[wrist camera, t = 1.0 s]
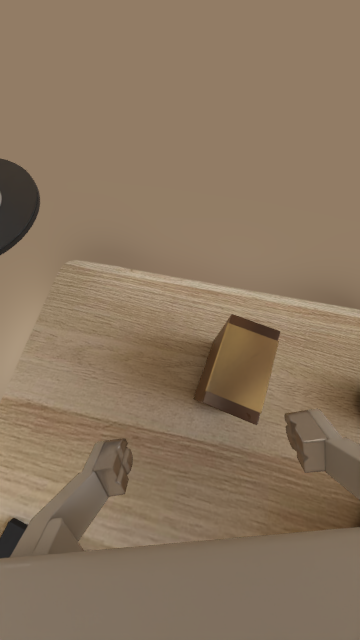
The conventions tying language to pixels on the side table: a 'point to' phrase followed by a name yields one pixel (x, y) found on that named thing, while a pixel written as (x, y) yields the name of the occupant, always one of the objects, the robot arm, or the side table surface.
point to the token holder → (239, 368)
